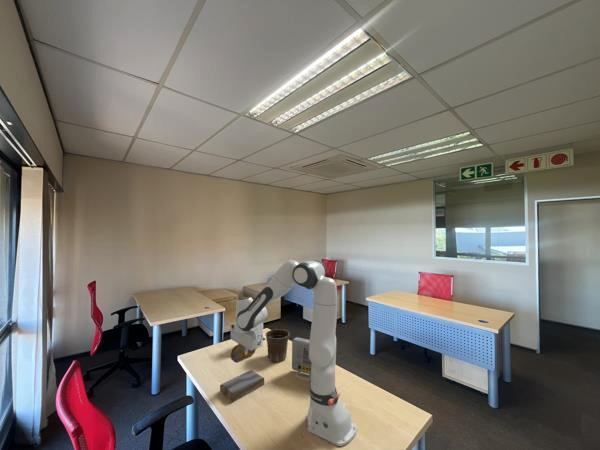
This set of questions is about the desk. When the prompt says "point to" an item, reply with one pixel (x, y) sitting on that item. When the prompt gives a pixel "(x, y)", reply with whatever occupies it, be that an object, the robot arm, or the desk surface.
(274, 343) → the plant pot
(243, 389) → the plinth
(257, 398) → the desk surface
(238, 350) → the tin
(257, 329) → the hard drive box
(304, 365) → the network device
